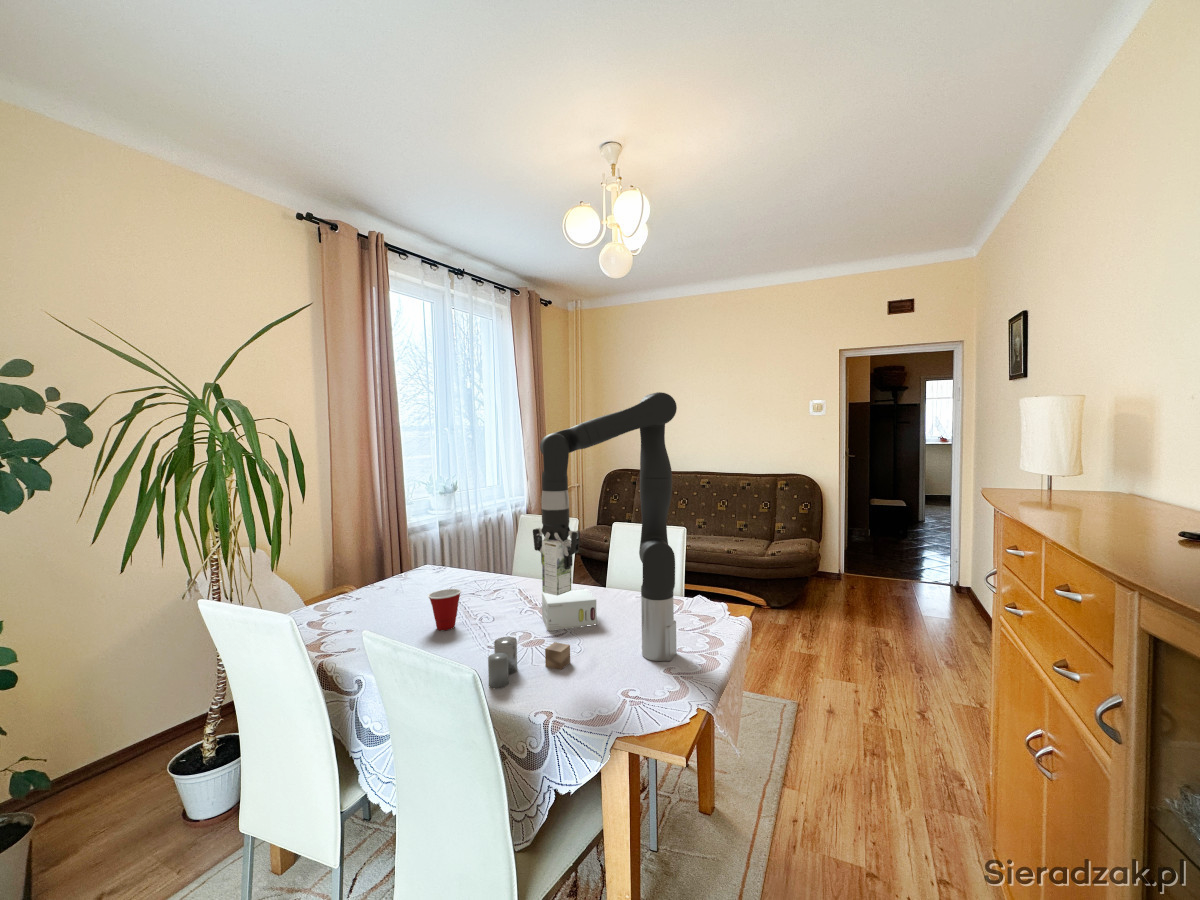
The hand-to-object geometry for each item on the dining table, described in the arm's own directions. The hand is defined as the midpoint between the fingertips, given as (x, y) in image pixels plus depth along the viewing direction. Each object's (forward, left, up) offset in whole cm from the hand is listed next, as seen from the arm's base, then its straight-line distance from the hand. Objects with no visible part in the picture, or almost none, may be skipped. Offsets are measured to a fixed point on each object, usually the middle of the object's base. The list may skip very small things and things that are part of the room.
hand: (556, 567), depth 138 cm
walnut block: (+1, -1, -28) cm, 28 cm away
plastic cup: (+50, -9, -28) cm, 58 cm away
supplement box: (+15, -31, -28) cm, 44 cm away
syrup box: (0, 0, -7) cm, 7 cm away
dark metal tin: (+12, +8, -28) cm, 31 cm away
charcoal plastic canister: (+9, +15, -28) cm, 32 cm away
